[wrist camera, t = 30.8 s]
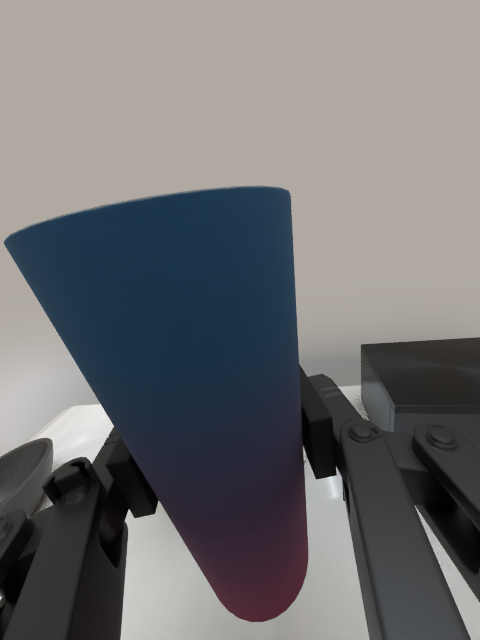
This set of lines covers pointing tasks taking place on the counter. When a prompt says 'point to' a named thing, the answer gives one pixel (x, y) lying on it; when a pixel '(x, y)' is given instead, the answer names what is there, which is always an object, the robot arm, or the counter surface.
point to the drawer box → (423, 385)
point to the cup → (193, 367)
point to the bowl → (25, 475)
